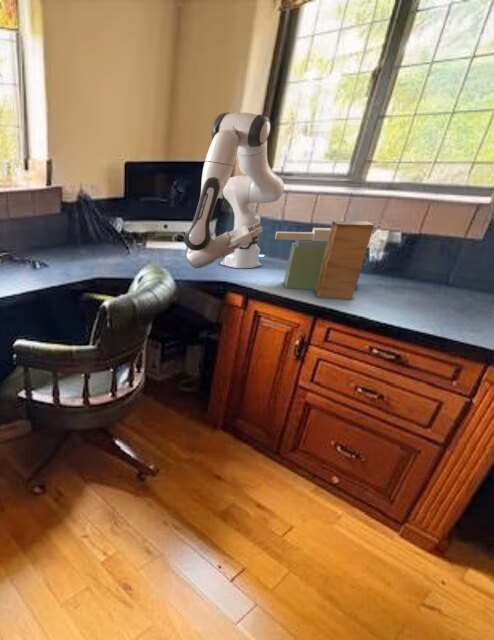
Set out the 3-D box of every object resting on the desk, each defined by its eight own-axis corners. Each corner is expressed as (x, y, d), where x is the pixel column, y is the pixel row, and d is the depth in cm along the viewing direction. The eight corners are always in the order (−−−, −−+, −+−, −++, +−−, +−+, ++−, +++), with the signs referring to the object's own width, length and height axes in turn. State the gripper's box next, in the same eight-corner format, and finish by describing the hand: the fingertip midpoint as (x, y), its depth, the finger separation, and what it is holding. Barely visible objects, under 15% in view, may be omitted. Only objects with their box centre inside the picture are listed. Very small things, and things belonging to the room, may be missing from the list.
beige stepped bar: (274, 237, 167) (276, 227, 165) (332, 239, 162) (334, 228, 160) (275, 239, 163) (278, 229, 161) (335, 241, 157) (337, 230, 155)
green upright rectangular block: (283, 282, 175) (293, 237, 166) (315, 284, 172) (326, 238, 163) (286, 287, 169) (296, 241, 160) (318, 289, 165) (331, 242, 157)
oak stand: (314, 291, 163) (332, 220, 151) (346, 293, 161) (367, 221, 148) (318, 297, 157) (337, 224, 144) (351, 299, 154) (374, 224, 141)
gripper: (224, 241, 161) (260, 223, 155) (223, 232, 178) (256, 215, 172) (230, 256, 163) (266, 238, 157) (229, 246, 180) (262, 229, 174)
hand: (261, 226), depth 164 cm, fingers open, 8 cm apart
